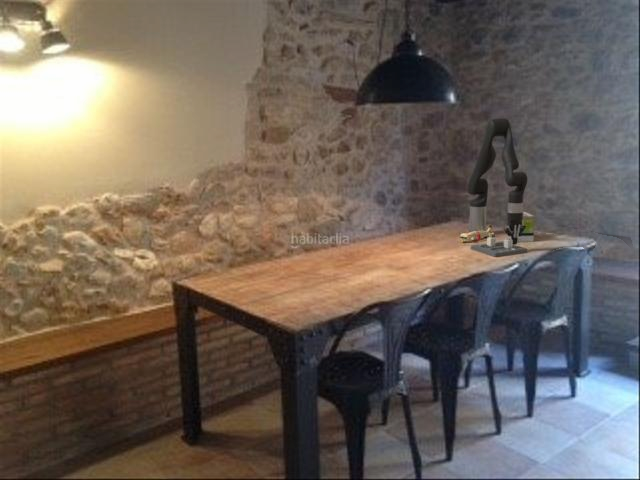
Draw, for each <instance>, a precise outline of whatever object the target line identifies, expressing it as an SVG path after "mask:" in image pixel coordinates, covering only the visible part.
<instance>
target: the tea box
mask: <svg viewBox="0 0 640 480" xmlns="http://www.w3.org/2000/svg"><path fill="white" fill-rule="evenodd" d="M535 218H536V216H535V215H534V214H532V213H529V212H527V211H523V220H522V224H523V225H524V226H526V228H525V229H524V231H523V233H522V234H521V236H518V240H517V243H531V242H534V240H535V239H534V237H535V235H534V234H535V221H536V219H535ZM507 236H508V235H507ZM507 238H509V239H511V237H510V236H508V237H507Z"/></svg>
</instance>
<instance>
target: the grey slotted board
mask: <svg viewBox="0 0 640 480" xmlns="http://www.w3.org/2000/svg"><path fill="white" fill-rule="evenodd" d="M470 250H473V251H476V252H478V253H481V254H485V255H488V256H490V257H493V258H498V257H505V256H513V255H518V254H527V253H528V248H526V247H523V246H520V245H517V244H515V245H513V247H512V248H505V247H504V241H495V246H488V245H487V242H486V243H480V244H472V245H470Z"/></svg>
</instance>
